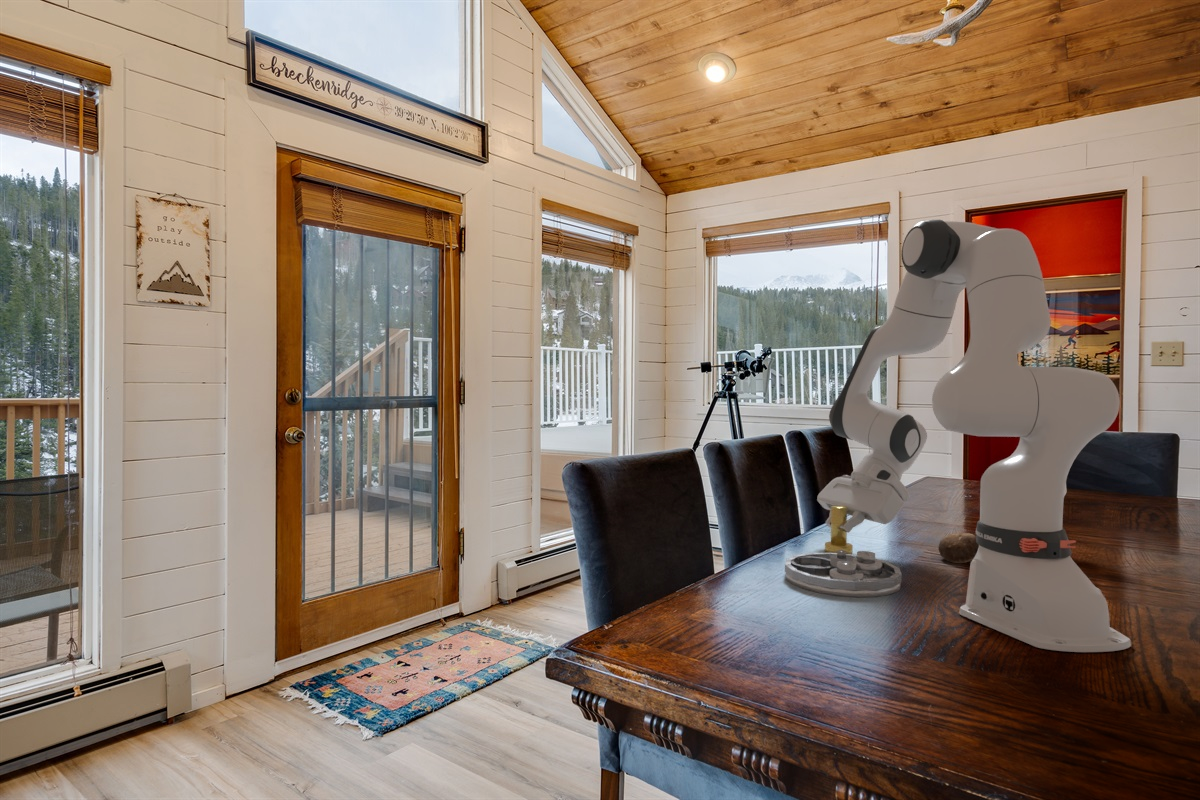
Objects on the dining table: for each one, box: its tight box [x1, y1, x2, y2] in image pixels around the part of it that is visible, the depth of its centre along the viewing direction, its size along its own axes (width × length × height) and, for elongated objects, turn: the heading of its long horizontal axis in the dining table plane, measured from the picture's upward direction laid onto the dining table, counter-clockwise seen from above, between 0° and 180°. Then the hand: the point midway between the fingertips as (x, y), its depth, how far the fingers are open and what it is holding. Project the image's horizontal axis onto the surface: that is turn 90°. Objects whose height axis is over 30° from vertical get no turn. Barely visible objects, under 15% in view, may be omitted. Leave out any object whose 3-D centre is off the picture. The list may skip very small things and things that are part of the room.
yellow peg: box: [824, 506, 854, 554], centre depth 146 cm, size 6×6×10 cm
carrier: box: [784, 550, 903, 598], centre depth 126 cm, size 20×20×5 cm
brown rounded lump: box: [938, 532, 979, 564], centre depth 140 cm, size 8×8×6 cm
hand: (836, 527), depth 146 cm, fingers closed on yellow peg, 3 cm apart
